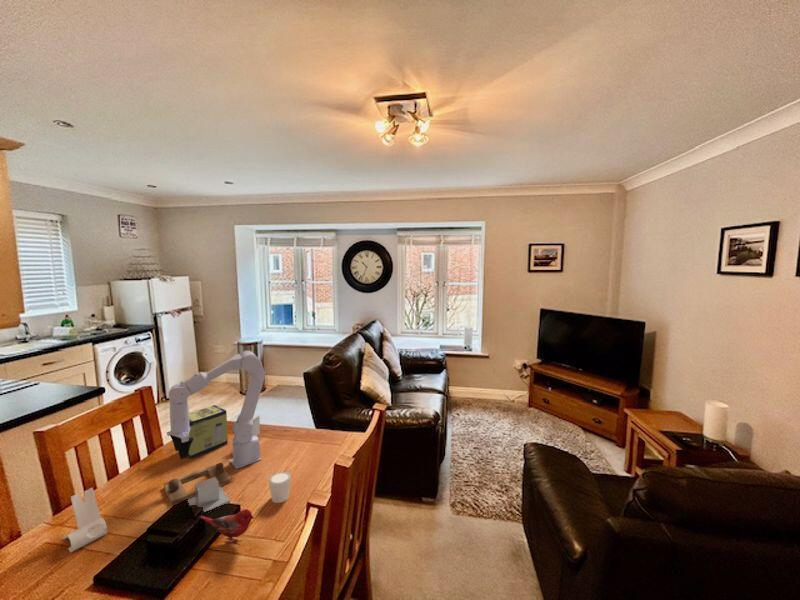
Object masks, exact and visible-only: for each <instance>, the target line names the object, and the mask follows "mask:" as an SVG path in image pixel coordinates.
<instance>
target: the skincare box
mask: <svg viewBox="0 0 800 600" xmlns="http://www.w3.org/2000/svg"><path fill="white" fill-rule="evenodd" d="M260 428H261V427H260V415H258V414H254V416H253V427H252V432H253V436H257V437H258V439H259V442H260V440H261V434H260V431H261V429H260Z"/></svg>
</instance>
